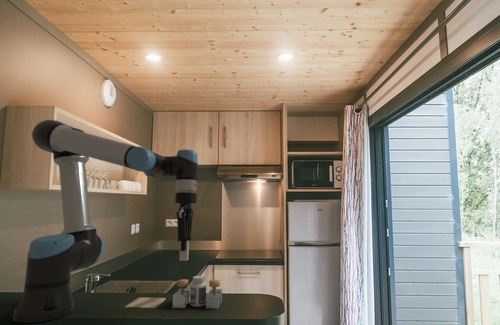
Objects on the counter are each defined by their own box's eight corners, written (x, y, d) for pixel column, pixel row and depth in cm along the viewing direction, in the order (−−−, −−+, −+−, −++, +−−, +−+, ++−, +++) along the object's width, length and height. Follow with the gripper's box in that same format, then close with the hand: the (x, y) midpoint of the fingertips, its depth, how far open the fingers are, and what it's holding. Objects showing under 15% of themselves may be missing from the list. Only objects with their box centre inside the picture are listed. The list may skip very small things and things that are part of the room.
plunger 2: (207, 297, 95) (208, 282, 96) (210, 294, 98) (210, 279, 99) (218, 298, 95) (218, 282, 95) (220, 295, 98) (220, 279, 99)
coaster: (125, 307, 93) (125, 306, 93) (138, 298, 103) (138, 297, 103) (154, 308, 92) (154, 307, 92) (165, 299, 102) (165, 297, 102)
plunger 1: (175, 297, 96) (176, 281, 96) (178, 294, 99) (179, 279, 100) (186, 297, 95) (186, 281, 96) (189, 294, 99) (189, 279, 100)
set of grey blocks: (172, 307, 93) (173, 294, 94) (180, 300, 101) (180, 288, 102) (217, 308, 92) (218, 295, 93) (221, 301, 100) (222, 288, 101)
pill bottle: (206, 301, 99) (207, 275, 101) (205, 306, 94) (205, 278, 95) (191, 302, 99) (192, 275, 100) (188, 307, 94) (189, 278, 95)
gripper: (191, 191, 96) (189, 263, 93) (200, 193, 109) (199, 257, 105) (169, 191, 97) (166, 263, 93) (181, 193, 110) (179, 257, 106)
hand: (183, 260), depth 99 cm, fingers closed
